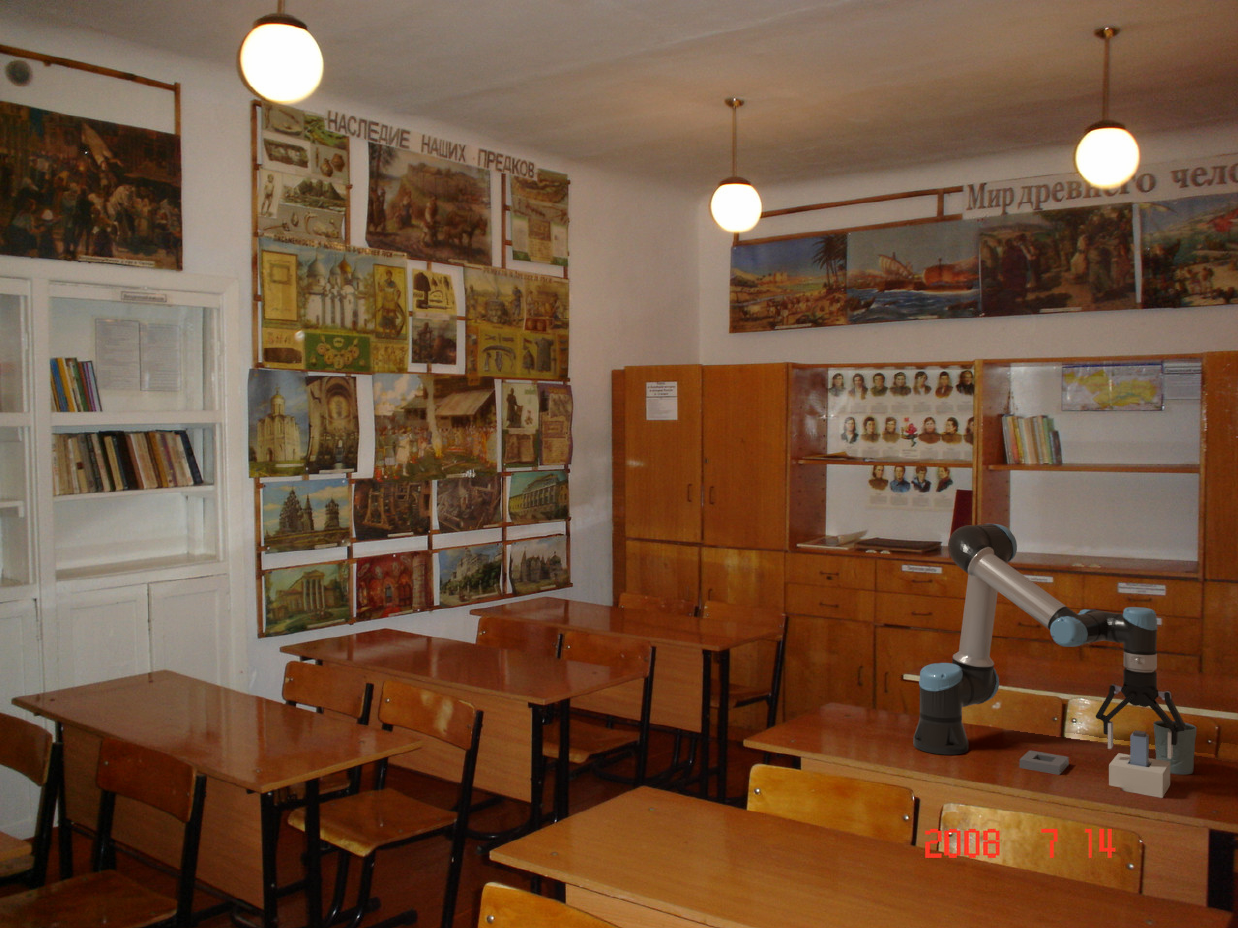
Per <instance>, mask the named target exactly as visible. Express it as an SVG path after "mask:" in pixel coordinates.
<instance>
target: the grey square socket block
mask: <svg viewBox="0 0 1238 928" xmlns="http://www.w3.org/2000/svg"><path fill="white" fill-rule="evenodd" d="M1069 760H1070V759H1069V756H1065V755H1059V754H1053V753H1047V752H1043V751H1036V750H1035V751H1034V750H1028V751H1027V752H1026V753H1025V754H1024V755H1023V756H1022V757H1020V758H1019V769H1024V770H1028V771H1029V770H1031V771H1036V772H1041V773H1045V774H1046V773H1048V774H1052V775H1061V774H1062V773H1063V772H1064V771H1065V769H1067V768H1068V767H1069V765H1070V764H1069V763H1070V762H1069Z"/></svg>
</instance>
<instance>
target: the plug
mask: <svg viewBox="0 0 1238 928" xmlns="http://www.w3.org/2000/svg"><path fill="white" fill-rule="evenodd" d="M1149 736H1150V735H1149V734H1147V731H1142V730H1138V729H1137V730H1134V731H1133V732H1132V733H1131V734H1130V737H1129V739H1130V741H1129V742H1130V747H1129V749H1130V751H1129V752H1130V753H1129V755H1130V764H1132V765H1137V766H1143V767H1149V758H1150V756H1149V753H1150V747H1149V745H1150V737H1149Z"/></svg>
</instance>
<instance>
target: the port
mask: <svg viewBox="0 0 1238 928" xmlns="http://www.w3.org/2000/svg"><path fill="white" fill-rule="evenodd" d="M1108 786H1111V787H1116V788H1121V789H1120V791H1122V792H1123V791H1124V792H1127V793H1134V794H1138V795H1143V796H1144V795H1145V796H1147V797H1148V796H1149V797H1155V798H1160V799H1163V798H1164V796H1165V795H1166V793H1167V791H1168V789H1169V787H1170V786H1171V773H1170V761H1164V760H1158V759H1156V758H1151V757H1149V767H1143V766H1137V765H1132V764H1130V754H1127V753H1121V752H1119V753H1117V755H1115V756H1114V758H1113V759H1112V760H1111V762H1109V764H1108Z"/></svg>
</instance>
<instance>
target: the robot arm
mask: <svg viewBox="0 0 1238 928" xmlns="http://www.w3.org/2000/svg"><path fill="white" fill-rule="evenodd" d="M947 549H948V554H949V556H950V559H951V560H952V561H953V562H954V563H955V565H956V566H957V567H959V568H960V569H961V570H962V571H964V572H965V573H966V574H968V575H967V576H968V577H967V584H966V593H965V601H964V608H963V614H962V615H963V617H962V623H961V630H960V631H961V633H960V639H959V647H958V648H959V649H958V651H957V652H956V653H954V654H952V661H951V663H950V662H939V663H938V662H937V663H936V662H934V663H930V664H928V665H924V667H922V668H921V670H920V671H919V680H918V685H919V719H918V723H917V726H916V729H915V732H914V734H913V737H912V739H913V742H912V743H913V746H914V747H913V748H916V749H918V751H922V752H925V753H930V754H934V755H945V756H946V755H947V756H948V755H949V756H950V755H962V754H965V753H966V752H968V751H969V740H968V737H967V733H966V730H965V728H964V725H963V708H966V707H969V706H974V705H980V704H984V703H985V702H987V701H991V699H993V698H994V697H995V696H996V694H997V693H998V691H999V688H1000V678H999V674H998V673H997V671H996V668H994V667H995V666H994V665H995V662H994V660H993V659H992V658H991V657H990V653H991V648H992V647H991V645H992V638H993V631H994V625H995V617H996V608H997V607H996V606H997V600H998V593H1000V594H1001V595H1003V596H1004V597H1005V598H1006V599H1007V600H1009V601H1011V602H1012V604H1014V605H1016V606H1017V607H1018V608H1020V609H1021V610H1022V611H1024V612H1025V613H1027V615H1029V616H1030V617H1032V618H1033V619H1034V620H1036V621H1037V622H1038V623H1040V624H1041V625H1043V626H1044V627H1045V628H1047V629H1048V630H1049V631H1050V636H1051V638H1052V639H1053V642H1055V643H1056V644H1057V645H1059V646H1061V647H1065V648H1066V647H1067V648H1068V647H1070V648H1071V647H1072V648H1075V647H1080V646H1082V645H1086V644H1091V643H1096V642H1102V641H1103V642H1113V643H1119V644H1122V645H1123V646H1122V647H1123V666H1124V669H1123V678H1122V680H1123V683H1122V684H1123V685H1122V686H1120V685H1116V683H1112V684H1110V686H1109V688H1108V695H1107V696H1106V697H1105V699H1104V701H1103V702H1102V704H1101V706H1100V708H1099V709H1098V711H1097V713H1096V714H1095V719H1097V720H1099V721H1102V723H1103V727H1102V729H1103V730H1102V731H1103V734H1104V735H1106V736H1107V749H1108V750H1112V749H1113V747H1114V721H1111V720H1112V719H1113V718H1114V717H1115V716H1116V715H1117V714H1118V713H1119V712H1121V710H1123V709H1124V707H1126V706H1127V705H1128V704H1130V705H1131V706H1135V707H1138V706H1139V707H1142V708H1147V707H1149V708H1150V709H1151V710H1153V711H1154V713H1155V714H1156V715H1157V716H1158V717H1159V718H1160V721H1161V720H1162V721H1163V722H1164V723H1165V724H1166V725H1167V727H1168V728H1169V729H1170V730H1169V731H1168V758H1169V759H1171V758H1172V756H1173V745H1176V744H1177V742H1178V732H1180V731H1184V730H1185V729H1186V725H1185V723H1186V722H1184V720H1183V718H1182V716H1181V714H1180V713H1179V711H1178V709H1177V707H1176V704H1175V703H1174V701H1173V698H1172V692H1171V691H1170V690H1166V691H1159V690H1158V673H1157V671H1156V670H1157V669H1158V652H1157V647H1158V646H1157V641H1158V638H1157V637H1158V636H1157V635H1158V628H1159V627H1158V622H1157V621H1158V620H1157V613H1156V611H1155V610H1154V609H1152V608H1149V607H1148V608H1147V607H1139V606H1137V607H1136V606H1129V607H1125V608H1124V609H1123V613H1116V612H1112V611H1111V612H1110V611H1104V610H1098V609H1081V610H1080V611H1079V613H1077V612H1075V611H1073V610H1072V609H1070V608H1069V607H1067V606H1066V605H1065V604H1064V603H1063V602H1061V601H1060V600H1058V599H1057V598H1056V597H1054V596H1052V595H1051V594H1050V593H1048V592H1047V591H1046V590H1044V589H1043V588H1042V587H1041V586H1039V585H1038V584H1037V583H1035V582H1034V581H1032V580H1030V579H1029V578H1028V577H1026V576H1024V574H1022V573H1020V571H1018V570H1016V569H1015V567H1012V566H1011V565H1010V564H1009V562H1011V561H1012V559H1014V558H1015V556H1016V554H1017V551H1018V544H1017V540H1016V537H1015V535H1014V534H1013V533H1012V531H1011V530H1010V529H1009V528H1008V527H1006V526H1005V525H1002V524H998V523H997V524H996V523H984V524H974V525H973V524H972V525H971V524H970V525H963V526H960V527H958V528H957V529H955V530H954V531H953V532H952V534H950V537H949V539H948V542H947ZM1120 692H1121V693H1122V695H1123V696H1124V697H1125V698H1124V699H1123V700H1122V701H1121V702H1119V704H1117V706H1115V707H1114V708H1113V709H1112V710H1111V711H1110V712H1108V714H1107V715H1105V712H1106V711H1107V709H1108V707H1109V706H1110V704H1111V702H1112V701H1113V699H1114V697H1115V695H1118V694H1119V693H1120ZM1158 697H1160V698H1161V700H1162V701H1164V702H1165V705H1166V706H1167V709H1168V711H1169V712H1170V715H1171V716H1172V718H1173V720H1172V719H1171V718H1170V716H1168V714H1167V713H1166V712H1165V710H1164V709H1163V708H1162V707H1161V705H1160V704H1159V703H1158V701H1157V698H1158ZM1173 721H1175V722H1176V724H1177V726H1176V725H1175V724H1174V722H1173Z"/></svg>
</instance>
